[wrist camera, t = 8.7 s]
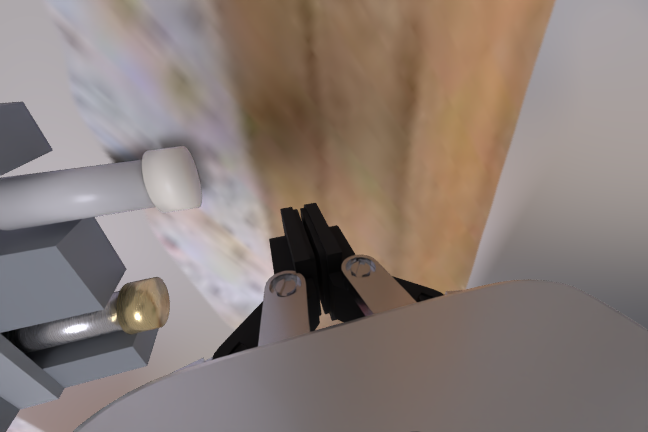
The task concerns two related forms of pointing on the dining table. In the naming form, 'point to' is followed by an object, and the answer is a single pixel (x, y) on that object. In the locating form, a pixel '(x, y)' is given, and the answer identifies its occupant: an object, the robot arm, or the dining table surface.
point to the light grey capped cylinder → (101, 190)
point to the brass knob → (102, 318)
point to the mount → (54, 291)
